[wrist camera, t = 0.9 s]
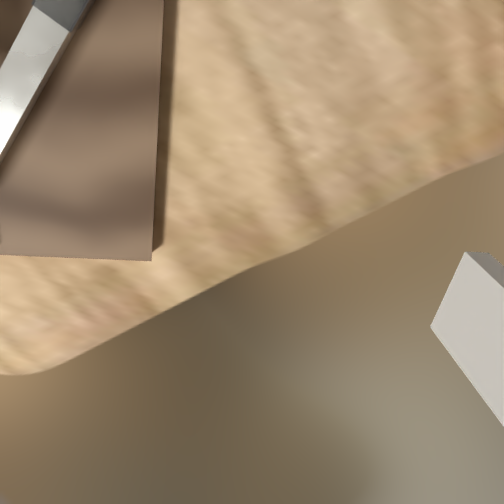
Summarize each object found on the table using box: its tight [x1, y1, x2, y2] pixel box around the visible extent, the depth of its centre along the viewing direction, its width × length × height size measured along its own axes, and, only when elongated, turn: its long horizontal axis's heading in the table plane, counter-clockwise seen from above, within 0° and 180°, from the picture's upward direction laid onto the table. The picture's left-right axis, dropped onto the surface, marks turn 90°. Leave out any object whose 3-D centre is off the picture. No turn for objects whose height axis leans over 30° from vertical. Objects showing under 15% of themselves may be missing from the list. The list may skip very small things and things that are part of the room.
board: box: [0, 0, 164, 261], centre depth 26 cm, size 24×17×1 cm
